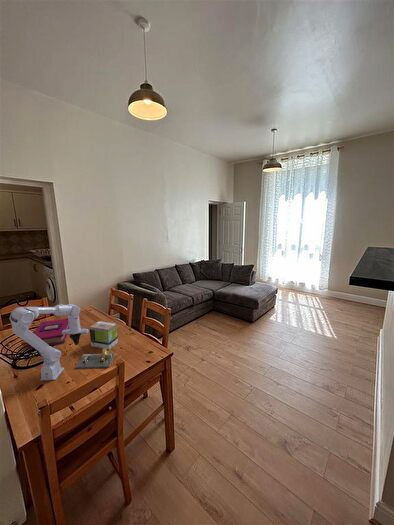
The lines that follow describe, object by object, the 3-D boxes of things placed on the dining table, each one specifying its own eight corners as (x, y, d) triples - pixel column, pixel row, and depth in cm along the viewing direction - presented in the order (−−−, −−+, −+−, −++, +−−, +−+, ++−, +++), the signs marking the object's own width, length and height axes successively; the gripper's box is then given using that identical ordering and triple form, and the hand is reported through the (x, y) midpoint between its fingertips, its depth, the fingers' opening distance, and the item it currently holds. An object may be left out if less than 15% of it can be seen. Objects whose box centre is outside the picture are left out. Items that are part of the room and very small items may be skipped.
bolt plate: (109, 367, 128) (108, 365, 128) (75, 368, 127) (75, 366, 126) (114, 355, 139) (114, 353, 139) (83, 356, 137) (83, 355, 137)
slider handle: (104, 361, 131) (104, 353, 130) (99, 361, 131) (99, 353, 130) (108, 354, 137) (107, 346, 136) (103, 354, 137) (102, 347, 136)
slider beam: (109, 361, 131) (108, 358, 131) (80, 362, 130) (79, 359, 130) (111, 356, 136) (111, 353, 136) (83, 357, 135) (83, 354, 135)
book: (27, 350, 144) (26, 339, 143) (41, 330, 170) (40, 321, 169) (64, 344, 152) (62, 334, 150) (71, 325, 177) (70, 317, 176)
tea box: (118, 342, 154) (117, 323, 151) (109, 350, 145) (107, 330, 142) (100, 338, 158) (99, 320, 155) (90, 346, 148) (88, 326, 146)
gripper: (89, 320, 135) (91, 339, 137) (65, 320, 133) (67, 340, 136) (84, 325, 128) (87, 346, 131) (59, 326, 127) (62, 347, 129)
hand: (76, 343), depth 133 cm, fingers closed
